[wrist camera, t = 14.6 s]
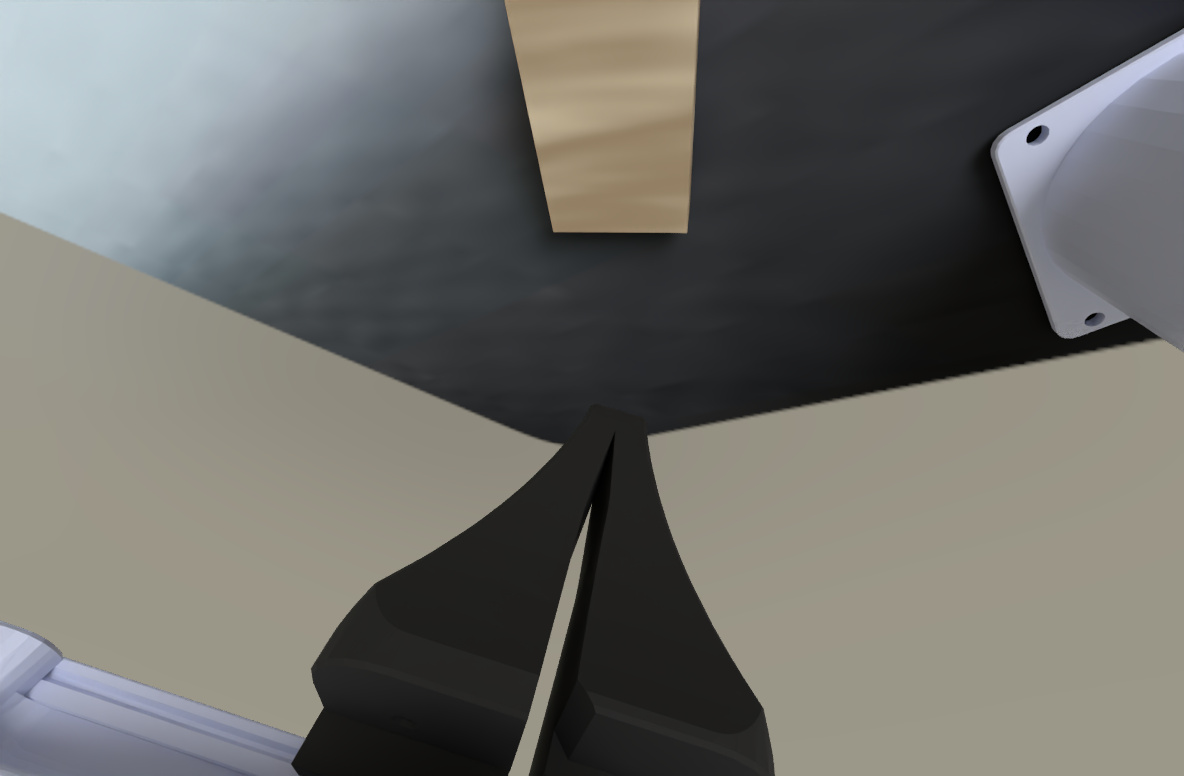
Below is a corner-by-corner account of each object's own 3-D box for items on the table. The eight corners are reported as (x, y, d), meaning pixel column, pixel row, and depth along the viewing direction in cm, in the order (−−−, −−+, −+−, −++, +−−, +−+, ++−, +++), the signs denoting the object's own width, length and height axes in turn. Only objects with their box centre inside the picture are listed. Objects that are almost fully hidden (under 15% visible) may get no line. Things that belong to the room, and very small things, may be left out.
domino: (687, 232, 16) (700, -32, 11) (553, 231, 17) (502, -11, 12) (689, 206, 17) (702, -50, 12) (562, 206, 18) (519, -30, 13)
